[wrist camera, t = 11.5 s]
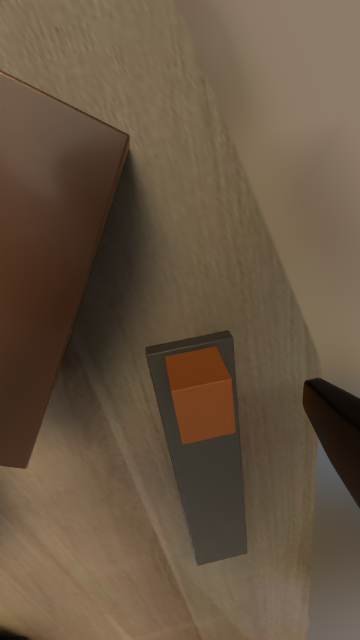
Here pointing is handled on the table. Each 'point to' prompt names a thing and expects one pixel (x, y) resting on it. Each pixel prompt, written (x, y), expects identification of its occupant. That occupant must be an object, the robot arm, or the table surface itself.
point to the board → (204, 461)
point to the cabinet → (45, 244)
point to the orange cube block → (201, 394)
